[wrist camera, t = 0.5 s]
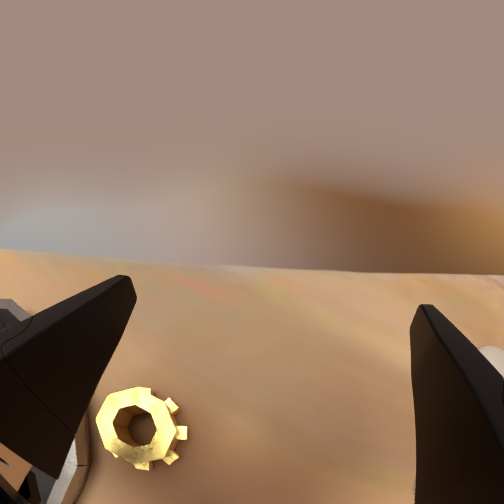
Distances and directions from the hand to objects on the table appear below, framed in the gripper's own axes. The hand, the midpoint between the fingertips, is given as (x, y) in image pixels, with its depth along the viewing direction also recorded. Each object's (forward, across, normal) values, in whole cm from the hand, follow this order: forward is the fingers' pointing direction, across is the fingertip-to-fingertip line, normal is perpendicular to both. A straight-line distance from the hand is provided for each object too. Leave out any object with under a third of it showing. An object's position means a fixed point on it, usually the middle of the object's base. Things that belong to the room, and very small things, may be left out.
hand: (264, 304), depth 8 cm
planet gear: (0, +9, +14) cm, 17 cm away
